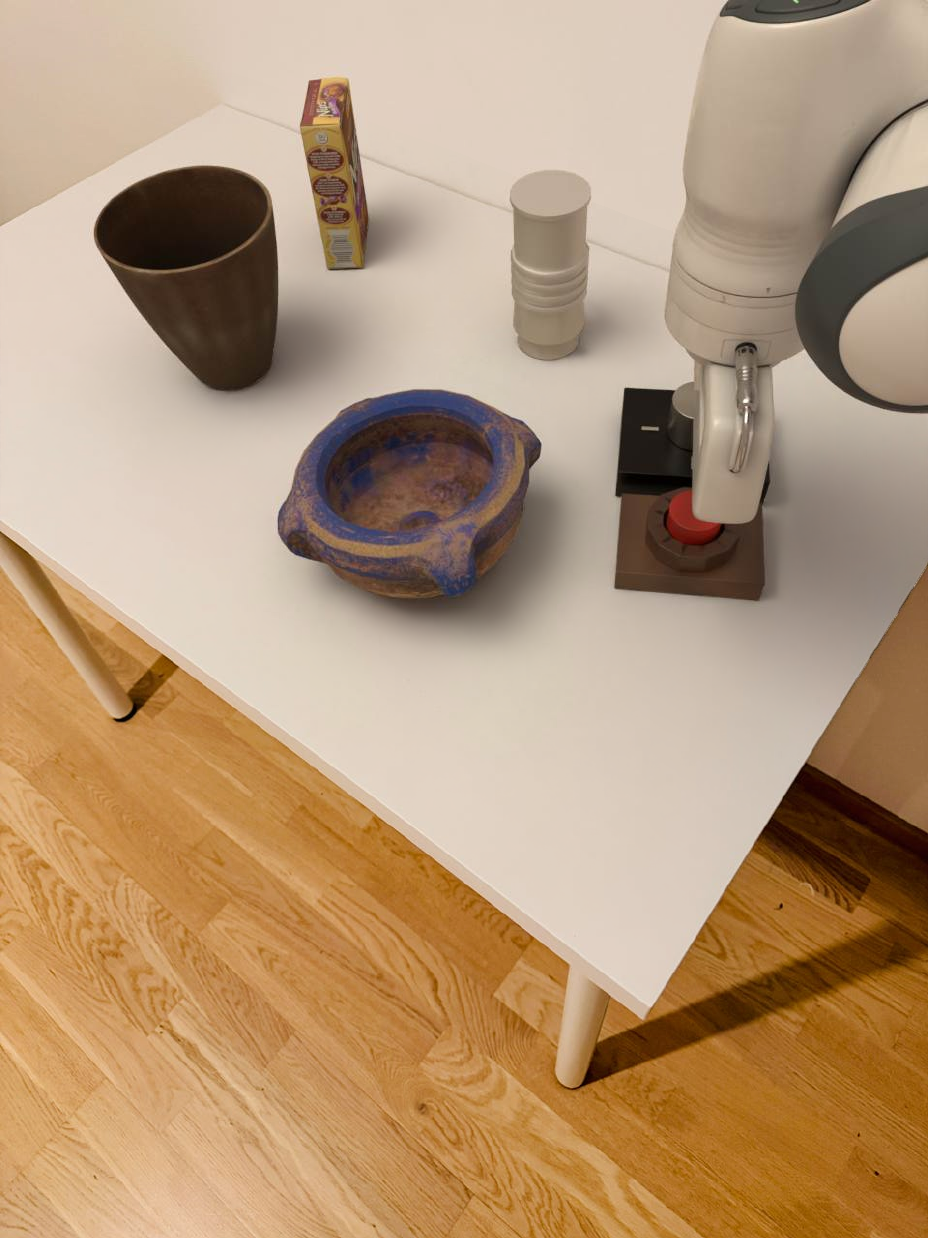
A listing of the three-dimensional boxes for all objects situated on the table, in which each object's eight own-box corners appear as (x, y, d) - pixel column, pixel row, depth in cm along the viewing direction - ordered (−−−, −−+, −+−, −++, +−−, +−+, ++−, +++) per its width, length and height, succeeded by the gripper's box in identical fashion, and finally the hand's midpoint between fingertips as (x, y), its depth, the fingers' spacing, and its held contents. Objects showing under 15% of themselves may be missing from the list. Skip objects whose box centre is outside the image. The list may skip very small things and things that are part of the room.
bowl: (376, 440, 81) (358, 351, 73) (562, 497, 76) (565, 408, 68) (270, 590, 73) (236, 509, 64) (472, 666, 67) (463, 587, 59)
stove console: (759, 420, 79) (767, 392, 77) (762, 506, 74) (771, 480, 71) (621, 412, 81) (624, 385, 79) (614, 496, 76) (617, 470, 73)
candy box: (367, 268, 96) (340, 123, 83) (327, 271, 96) (294, 126, 83) (372, 219, 100) (348, 75, 88) (334, 221, 101) (305, 77, 88)
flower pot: (342, 348, 89) (308, 195, 75) (238, 442, 82) (180, 292, 69) (234, 299, 94) (184, 147, 81) (128, 383, 88) (55, 234, 75)
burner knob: (669, 410, 77) (675, 375, 73) (722, 415, 76) (730, 380, 73) (664, 448, 74) (670, 413, 71) (719, 453, 74) (727, 419, 70)
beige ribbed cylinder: (596, 351, 86) (606, 203, 73) (528, 371, 85) (526, 224, 73) (568, 308, 90) (573, 161, 77) (502, 327, 89) (497, 181, 76)
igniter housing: (756, 520, 73) (767, 486, 70) (759, 600, 69) (770, 569, 66) (620, 510, 75) (623, 477, 72) (614, 588, 71) (617, 557, 67)
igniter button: (720, 506, 70) (723, 491, 68) (720, 547, 68) (724, 532, 66) (667, 503, 70) (670, 487, 69) (665, 543, 68) (668, 528, 67)
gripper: (814, 424, 46) (761, 586, 57) (794, 193, 57) (753, 367, 68) (686, 418, 46) (659, 578, 58) (691, 192, 58) (668, 364, 69)
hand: (710, 462), depth 63 cm, fingers closed
